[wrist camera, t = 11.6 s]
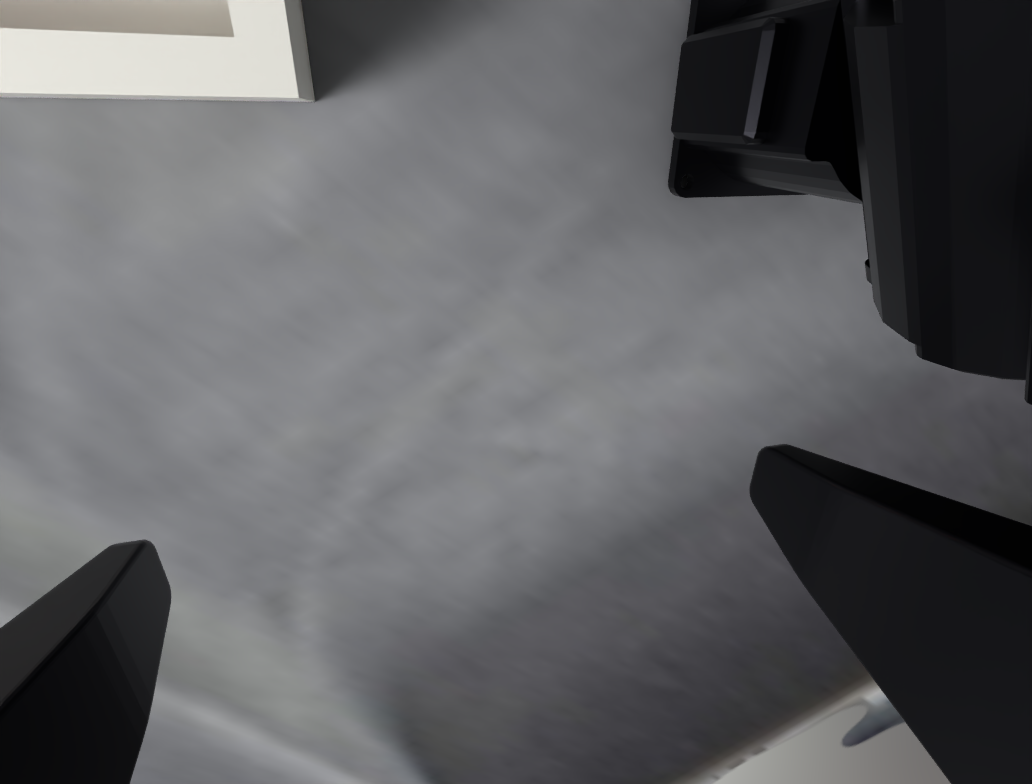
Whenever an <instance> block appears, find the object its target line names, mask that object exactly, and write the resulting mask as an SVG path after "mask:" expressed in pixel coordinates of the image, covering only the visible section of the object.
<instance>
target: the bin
mask: <svg viewBox="0 0 1032 784" xmlns="http://www.w3.org/2000/svg"><path fill="white" fill-rule="evenodd" d="M0 97H16V98H81V99H146V100H211V101H276V102H315V97H314V90H313V82H312V75H311V68H310V61H309V54H308V46H307V39H306V32H305V25H304V18H303V10H302V3H301V0H0Z"/></svg>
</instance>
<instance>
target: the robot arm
mask: <svg viewBox="0 0 1032 784" xmlns="http://www.w3.org/2000/svg"><path fill="white" fill-rule="evenodd" d="M671 131H672V133H673V135H674V140H673V148H672V156H671V164H670V171H669V179H668V187H669V189H670V192H671V193H672V194H674V195H676V196H680V197H684V198H691V197H729V196H767V195H805V194H810V195H815V196H821V197H826V198H832V199H837V200H843V201H848V202H854V203H859V204H863V212H864V221H865V231H866V240H867V249H868V258H869V259H867V260H866V262H865V268H866V277H867V280H868V281H869V282H870V283H871V284H872V290H873V299H874V303H875V305H876V307H877V309H878V312H879V314H880V316H881V319H882V321H883V322H884V323H885V324H886V325H888V326H889V327H890V328H892V329H893V330H894V331H896V332H897V333H898V334H900V335H901V336H903V337H904V338H905V339H907V340H908V341H909V342H912V343H914V344H915V350H916V354H917V356H919V357H920V358H922V359H924V360H927V361H930V362H933V363H936V364H939V365H942V366H945V367H948V368H951V369H955V370H958V371H961V372H966V373H972V374H978V375H983V376H989V377H995V378H1001V379H1013V380H1026V385H1025V401H1026V402H1027V403H1029V404H1031V405H1032V0H691V8H690V16H689V23H688V31H687V39H686V40H685V42H684V43H683V44H682V47H681V54H680V62H679V70H678V78H677V86H676V94H675V102H674V110H673V118H672V126H671ZM685 175H687V177H688V182H687V185H686V186H685V187H684V188H682V187H681V183H680V182H681V179H682V178H683V177H684V176H685ZM750 497H751V500H752V502H753V504H754V506H755V507H756V509H757V511H758V512H759V514H760V516H761V517H762V519H763V520H764V522H765V524H766V525H767V527H768V529H769V530H770V532H771V534H772V535H773V537H774V539H775V540H776V542H777V543H778V545H779V547H780V548H781V550H782V552H783V553H784V555H785V557H786V558H787V560H788V562H789V563H790V565H791V566H792V568H793V570H794V571H795V573H796V574H797V576H798V577H799V579H800V580H801V582H802V583H803V585H804V586H805V588H806V589H807V590H808V592H809V593H810V595H811V596H812V597H813V599H814V600H815V601H816V603H817V604H818V605H819V607H820V608H821V609H822V611H823V612H824V613H825V615H826V616H827V617H828V619H829V620H830V621H831V623H832V624H833V625H834V627H835V628H836V629H837V631H838V632H839V634H840V635H841V636H842V638H843V639H844V640H845V642H846V643H847V644H848V646H849V647H850V648H851V650H852V651H853V652H854V654H855V655H856V656H857V658H858V659H859V660H860V662H861V663H862V664H863V666H864V667H865V669H866V670H867V671H868V673H869V674H870V675H871V677H872V678H873V679H874V681H875V682H876V683H877V685H878V686H879V687H880V689H881V690H882V691H883V693H884V694H885V695H886V697H887V698H888V699H889V701H890V702H891V704H892V705H893V706H894V708H895V709H896V710H897V712H898V713H899V714H900V716H901V717H902V718H903V720H904V721H905V722H906V724H907V725H908V726H909V728H910V729H911V730H912V732H913V733H914V734H915V736H916V737H917V738H918V740H919V741H920V742H921V744H922V745H923V747H924V748H925V749H926V750H927V752H928V753H929V755H930V756H931V757H932V759H933V760H934V761H935V763H936V764H937V765H938V767H939V768H940V769H941V770H942V772H943V773H944V775H945V776H946V778H947V779H948V780H949V781H950V783H951V784H1032V526H1030V525H1027V524H1024V523H1021V522H1018V521H1015V520H1012V519H1009V518H1006V517H1003V516H1000V515H997V514H994V513H991V512H988V511H985V510H982V509H979V508H976V507H973V506H970V505H967V504H964V503H961V502H958V501H955V500H952V499H949V498H946V497H943V496H940V495H937V494H934V493H931V492H928V491H925V490H922V489H919V488H916V487H913V486H910V485H908V484H905V483H902V482H899V481H896V480H893V479H890V478H887V477H884V476H881V475H878V474H875V473H872V472H869V471H866V470H863V469H860V468H857V467H854V466H851V465H848V464H845V463H842V462H839V461H836V460H833V459H830V458H827V457H824V456H821V455H818V454H815V453H812V452H809V451H806V450H803V449H800V448H797V447H794V446H791V445H788V444H780V445H773V446H766V447H764V448H762V449H761V450H760V451H759V453H758V455H757V459H756V463H755V467H754V471H753V475H752V479H751V483H750ZM170 605H171V589H170V585H169V582H168V579H167V577H166V574H165V572H164V569H163V566H162V564H161V561H160V558H159V556H158V553H157V551H156V548H155V546H154V545H153V544H152V543H151V542H150V541H148V540H138V541H131V542H124V543H118V544H114V545H111V546H109V547H108V548H106V549H105V550H104V551H102V552H101V553H100V554H98V555H97V556H96V557H94V558H93V559H92V560H90V561H89V562H88V563H86V564H85V565H84V566H82V567H81V568H80V569H78V570H77V571H76V572H74V573H73V574H72V575H70V576H69V577H68V578H66V579H65V580H64V581H62V582H61V583H60V584H58V585H57V586H56V587H54V588H53V589H52V590H50V591H49V592H48V593H46V594H45V595H44V596H42V597H41V598H40V599H38V600H37V601H36V602H35V603H33V604H32V605H31V606H29V607H28V608H27V609H25V610H24V611H23V612H21V613H20V614H19V615H17V616H16V617H15V618H13V619H12V620H11V621H9V622H8V623H7V624H5V625H4V626H3V627H1V628H0V784H130V781H131V777H132V774H133V771H134V768H135V764H136V761H137V758H138V755H139V751H140V748H141V745H142V742H143V738H144V734H145V731H146V727H147V724H148V720H149V715H150V710H151V706H152V701H153V696H154V691H155V685H156V680H157V675H158V669H159V664H160V659H161V653H162V648H163V643H164V637H165V632H166V627H167V621H168V616H169V611H170Z"/></svg>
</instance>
